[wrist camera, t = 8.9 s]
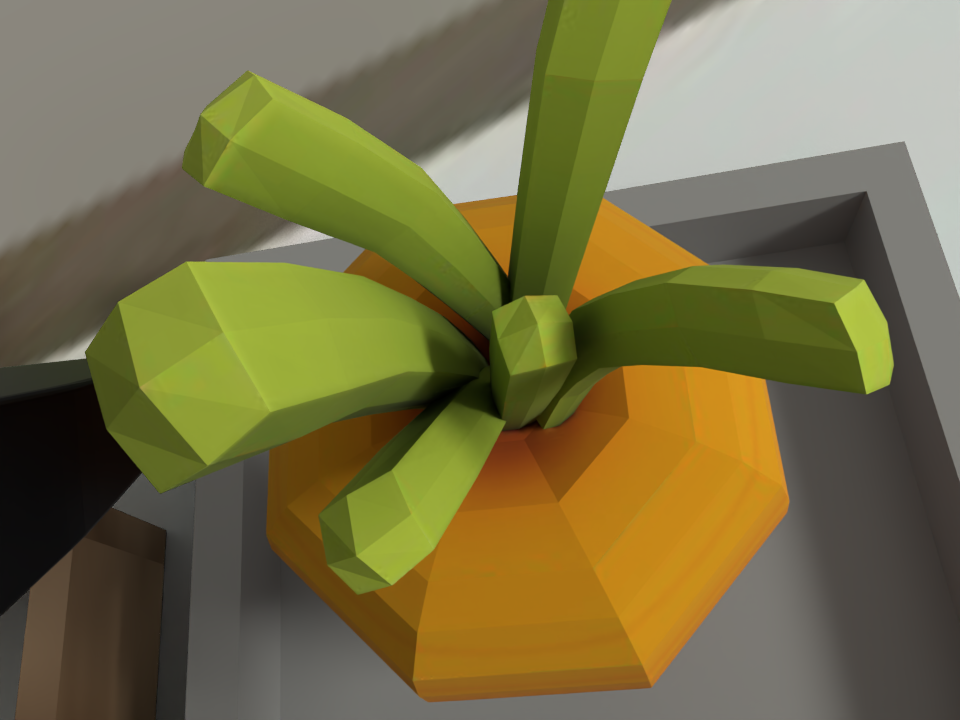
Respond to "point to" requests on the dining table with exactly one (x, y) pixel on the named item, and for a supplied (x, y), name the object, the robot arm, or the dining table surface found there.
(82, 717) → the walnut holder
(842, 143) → the dining table surface
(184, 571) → the dining table surface
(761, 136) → the dining table surface
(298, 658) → the grey tray
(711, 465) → the carrot
